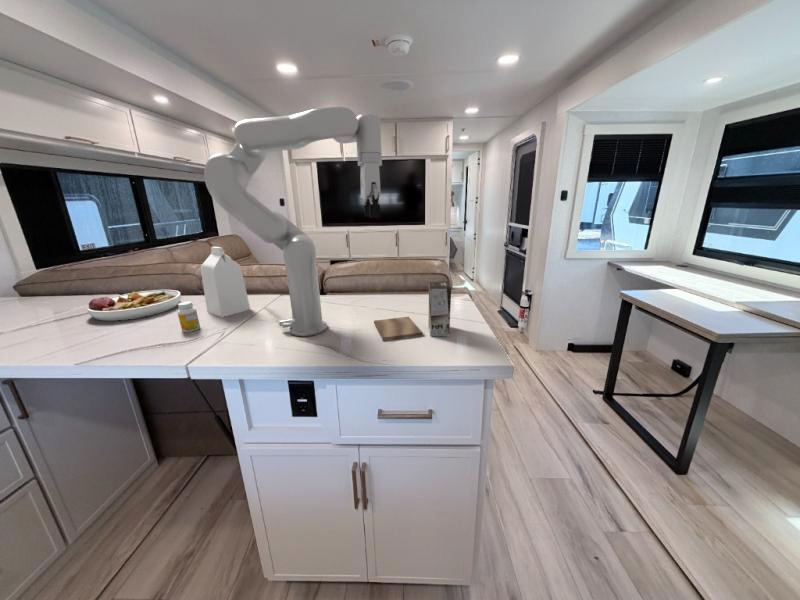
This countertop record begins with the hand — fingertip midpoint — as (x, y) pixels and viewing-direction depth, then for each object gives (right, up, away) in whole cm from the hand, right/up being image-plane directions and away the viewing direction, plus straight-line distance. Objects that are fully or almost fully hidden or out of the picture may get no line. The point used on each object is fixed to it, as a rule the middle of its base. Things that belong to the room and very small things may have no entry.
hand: (372, 217), depth 100 cm
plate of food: (-101, -32, +28) cm, 109 cm away
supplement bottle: (-64, -38, +7) cm, 75 cm away
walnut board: (+8, -37, +4) cm, 38 cm away
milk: (-62, -32, +26) cm, 74 cm away
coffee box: (+22, -38, +2) cm, 44 cm away
